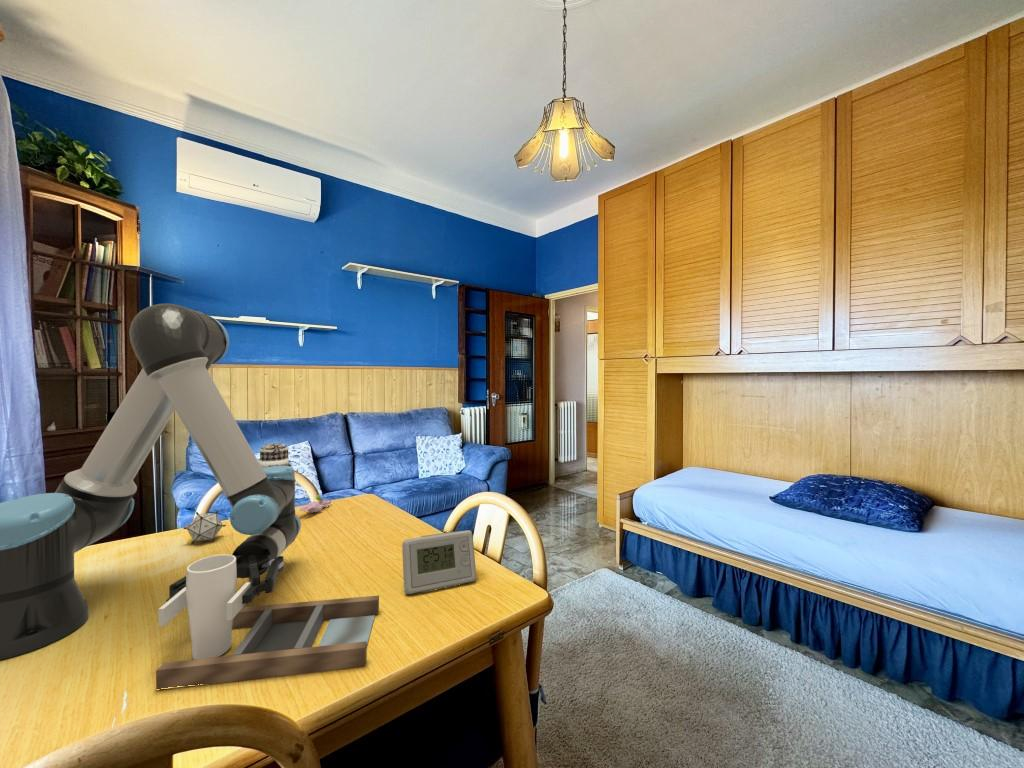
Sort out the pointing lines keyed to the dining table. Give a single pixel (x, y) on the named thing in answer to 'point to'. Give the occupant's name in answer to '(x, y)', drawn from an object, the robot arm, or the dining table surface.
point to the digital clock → (438, 561)
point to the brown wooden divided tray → (334, 652)
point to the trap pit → (281, 634)
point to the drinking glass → (210, 604)
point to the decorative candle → (274, 455)
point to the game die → (204, 527)
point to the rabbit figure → (315, 505)
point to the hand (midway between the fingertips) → (195, 614)
